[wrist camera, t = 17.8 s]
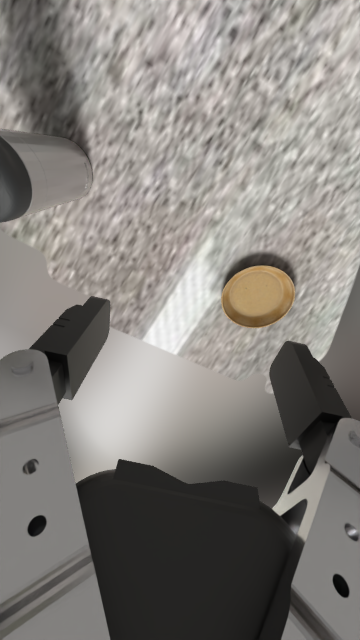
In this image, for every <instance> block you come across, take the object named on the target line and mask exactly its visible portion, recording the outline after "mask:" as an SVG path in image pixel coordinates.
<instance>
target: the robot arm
mask: <svg viewBox="0 0 360 640" xmlns="http://www.w3.org/2000/svg"><path fill="white" fill-rule="evenodd" d="M92 178H93V176H92V169H91V165H90V162H89V160H88V158H87V156H86V154H85V153H84V151H83V150H82V149H81V148H80V147H79V146H78V145H77V144H76V143H74V142H73V141H71V140H69V139H67V138H62V137H56V136H49V135H43V134H35V133H28V132H21V131H14V130H6V129H0V222H6V221H10V220H13V219H16V218H20V217H23V216H26V215H29V214H32V213H35V212H39V211H42V210H45V209H48V208H51V207H55V206H58V205H61V204H64V203H68V202H71V201H74V200H77V199H80V198H82V197H84V196H85V195H86V194H87V193H88V192H89V190H90V188H91V185H92ZM109 326H110V301H109V300H107V299H102V298H98V297H94V296H91V297H90V298H89V299H88V300H87V301H86V303H85V304H84V305H83V306H81V305H75V306H73V307H71V308H69V309H67V310H65V312H64V313H63V314H62V315H61V316H60V317H59V319H57V320H56V321H55V322H54V323H53V325H51V326H50V327H49V328H48V330H47V331H46V332H45V333H44V334H43V335H42V336H41V337H40V338H39V339H38V340H37V341H36V342H35V343H34V344H33V345H32V346H31V347H30V348H29V349H26V350H19V351H15V352H13V353H10V354H8V355H7V356H5V357H3V358H2V359H1V360H0V640H360V422H359V421H357V420H354V419H352V418H351V416H350V414H349V412H348V410H347V408H346V407H345V405H344V403H343V401H342V399H341V398H340V396H339V394H338V392H337V390H336V389H335V388H334V385H333V383H332V381H331V380H330V377H329V375H328V374H327V372H326V370H325V368H324V367H323V366H322V365H321V364H320V363H319V362H318V361H317V360H316V359H315V358H313V356H312V355H311V353H310V351H309V349H308V347H307V346H306V345H305V344H301V343H296V342H292V341H286V342H285V343H284V345H283V346H282V348H281V350H280V351H279V353H278V355H277V356H276V358H275V359H274V361H273V363H272V365H271V367H270V380H271V384H272V387H273V391H274V395H275V398H276V402H277V406H278V409H279V413H280V417H281V420H282V424H283V428H284V431H285V435H286V439H287V442H288V446H289V447H291V448H296V449H300V450H302V453H303V456H301V457H300V458H299V460H298V462H297V464H296V466H295V469H294V471H293V473H292V475H291V477H290V479H289V481H288V484H287V485H286V488H285V490H284V492H283V494H282V496H281V498H280V500H279V501H278V502H277V504H276V505H275V506H274V508H273V509H271V508H270V507H269V506H267V505H266V504H264V503H263V502H261V501H260V500H259V496H258V489H257V488H256V487H252V486H247V485H242V484H237V483H232V482H228V481H217V482H207V483H197V484H187V483H184V482H182V481H180V480H178V479H176V478H175V477H173V476H171V475H169V474H167V473H165V472H163V471H161V470H159V469H157V468H156V467H154V466H150V465H145V464H141V463H136V462H131V461H126V460H121V459H119V460H118V464H117V467H116V469H114V470H107V471H103V472H99V473H96V474H93V475H90V476H88V477H86V478H85V479H83V480H81V481H79V482H78V483H76V484H75V479H74V474H73V470H72V465H71V461H70V457H69V452H68V447H67V443H66V438H65V434H64V429H63V424H62V420H61V416H60V411H59V407H58V404H59V403H60V401H61V399H62V398H65V399H69V400H72V399H73V398H74V396H75V394H76V392H77V391H78V389H79V387H80V385H81V383H82V382H83V380H84V378H85V377H86V375H87V373H88V371H89V370H90V368H91V366H92V364H93V362H94V361H95V359H96V357H97V356H98V354H99V352H100V350H101V349H102V347H103V345H104V343H105V341H106V339H107V337H108V333H109Z"/></svg>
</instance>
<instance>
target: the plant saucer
mask: <svg viewBox="0 0 360 640" xmlns="http://www.w3.org/2000/svg"><path fill="white" fill-rule="evenodd" d="M294 299H295V287H294V284H293V282H292V280H291V278H290V277H289V276H288V275H287V274H286V273H285V272H283V271H282V270H280V269H278V268H275V267H272V266H264V265H260V266H253V267H249V268H246V269H244V270H242V271H240V272H238V273H237V274H235V275H234V276H233V277H232V278H231V279H230V280H229V281H228V283H227V284H226V286H225V287H224V289H223V292H222V297H221V304H222V308H223V311H224V313H225V314H226V316H227V317H228V318H229V319H230V320H231V321H232V322H234V323H235V324H237V325H240V326H242V327H247V328H262V327H266V326H269V325H272V324H274V323H276V322H277V321H279V320H280V319H282V318H283V317H284V316H285V315H286V314H287V313H288V312H289V310H290V309H291V307H292V305H293V302H294Z"/></svg>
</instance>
